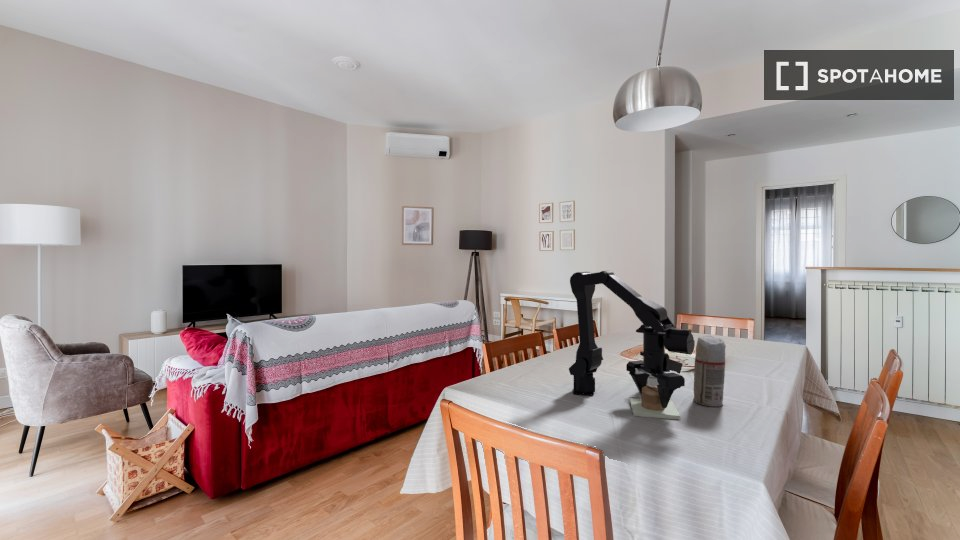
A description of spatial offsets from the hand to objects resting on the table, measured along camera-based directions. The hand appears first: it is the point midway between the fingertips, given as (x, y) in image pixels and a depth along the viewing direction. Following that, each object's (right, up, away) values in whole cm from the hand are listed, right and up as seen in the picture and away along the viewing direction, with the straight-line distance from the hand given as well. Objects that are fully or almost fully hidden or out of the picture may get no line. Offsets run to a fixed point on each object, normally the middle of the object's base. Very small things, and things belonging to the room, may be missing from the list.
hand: (653, 402), depth 123 cm
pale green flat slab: (0, -2, 0) cm, 2 cm away
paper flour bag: (+19, -2, +6) cm, 20 cm away
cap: (0, -1, 0) cm, 1 cm away
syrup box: (+8, -2, +18) cm, 19 cm away
